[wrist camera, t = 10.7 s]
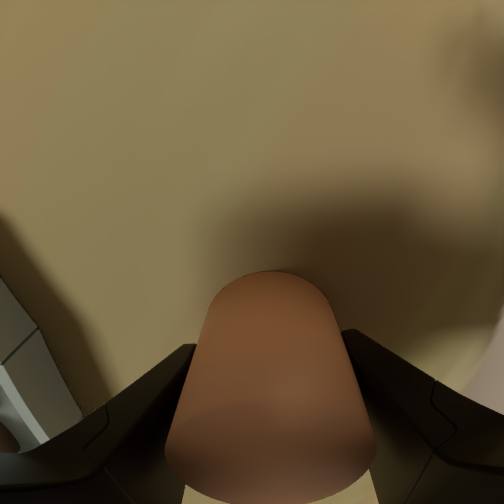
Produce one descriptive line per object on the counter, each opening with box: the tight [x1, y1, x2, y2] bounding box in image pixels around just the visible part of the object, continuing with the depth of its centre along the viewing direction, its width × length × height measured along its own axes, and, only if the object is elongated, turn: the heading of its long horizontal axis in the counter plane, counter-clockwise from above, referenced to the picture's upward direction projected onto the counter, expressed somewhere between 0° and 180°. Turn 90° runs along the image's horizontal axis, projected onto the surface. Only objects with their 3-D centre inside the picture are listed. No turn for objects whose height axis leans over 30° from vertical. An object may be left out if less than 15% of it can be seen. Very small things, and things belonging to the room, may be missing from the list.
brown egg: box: [165, 271, 377, 504], centre depth 7 cm, size 4×4×5 cm
